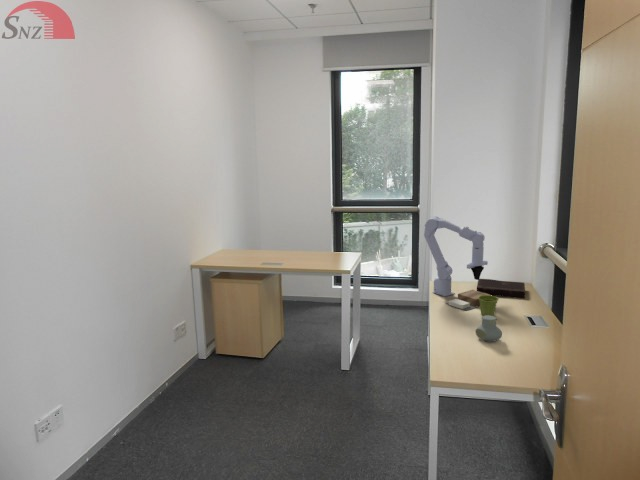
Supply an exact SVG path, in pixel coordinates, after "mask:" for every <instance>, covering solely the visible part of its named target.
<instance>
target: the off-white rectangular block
mask: <svg viewBox="0 0 640 480" xmlns="http://www.w3.org/2000/svg"><path fill="white" fill-rule="evenodd" d="M448 302H449V305H448V306H451V307H454V308H457V309H460V310H463V309H464V308H467V307H470V303H468V302H465V301H462V300H459V299H458V298H453V299H450V300H448Z"/></svg>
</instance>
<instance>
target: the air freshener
mask: <svg viewBox="0 0 640 480" xmlns="http://www.w3.org/2000/svg"><path fill="white" fill-rule="evenodd" d="M475 335H476V336H477V338H479V340H481V341H482V342H483V341H484V342H487V343H488V342H489V343H490V342H491V343H492V342H497V341H499V340H500V339H501V338H503V337H502V336H503V331H502V330H501V328H499V326H497V317H495V315H494V316H490V315H485V316H483V315H482V318H481V324H480V325H478V326H477V327H476V329H475Z"/></svg>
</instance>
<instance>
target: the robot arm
mask: <svg viewBox="0 0 640 480" xmlns="http://www.w3.org/2000/svg"><path fill="white" fill-rule="evenodd" d="M444 228H445V229H446V230H449V231H452V232H455V233H456V234H458V236H459V237H460V238H463V239H465V240H468V241H470V242H471V243H472V247H471V248H472V249H471V262H470V263H468V264H466V269H469V270H471V272H472V274H473V279H474V280H477V281H478V280H479V279H481V274H482V272H483V271H484V268H485V267H484V266H488V265H489V263H488V262H489V261H488V260H484V247H485V246H484V241H485V235H484V233H482V232H481V231H477V230H473V229H470V227H468V226H462V227H460V226H458V225H456V224H455V223H452V222H451V221H448V220H446V219H444V218H441V217H438V216H432V217H431V218H429V219H428V220H427V221H426V222H425V224H424V233H423V236H424V239H425V241H426V244H427V246H428V247H429V250H430V252H431V255H432V257H433V259H434V261H435V264H436V271H437V276H436V277H435V278H434V280H433V291H432V293H434V294H437V295H439V296H443V297H447V296H452V295H454V294H455V292H453V291H452V276H451V275H452V274H453V269H452V267H451V266H450V265H449V263H448V261H446V260H445V257H444V255H443V253H442V250H441V248H440V245H439V243H438V241H437V238H436V236H435V234H436V232H437V230H438V229H444Z"/></svg>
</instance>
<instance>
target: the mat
mask: <svg viewBox="0 0 640 480" xmlns="http://www.w3.org/2000/svg"><path fill="white" fill-rule="evenodd" d="M445 304H446V305H447V306H450V305H449V301H448V302H445ZM476 308H477V309H478V306H477V307H475V306H472V305H470V307H467V308H464V309H462V310H463V311H466V312H467V311H470V310H473V309H476Z"/></svg>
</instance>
